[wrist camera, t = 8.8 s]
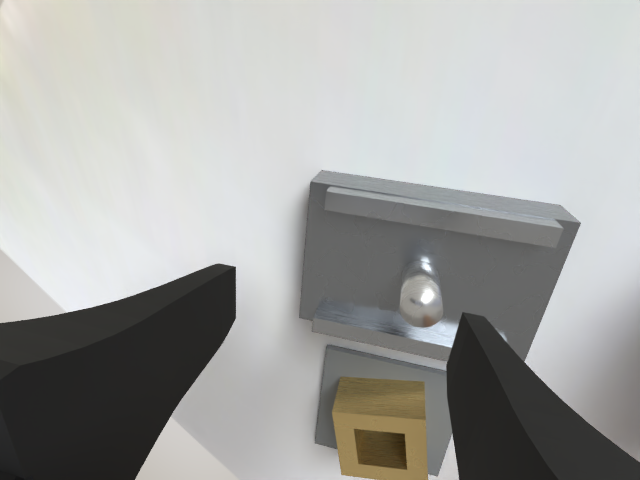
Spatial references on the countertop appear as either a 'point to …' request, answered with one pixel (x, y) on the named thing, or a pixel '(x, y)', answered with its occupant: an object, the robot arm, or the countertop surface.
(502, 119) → the countertop surface
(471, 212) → the block
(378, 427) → the brass square ring
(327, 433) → the rubber mat
